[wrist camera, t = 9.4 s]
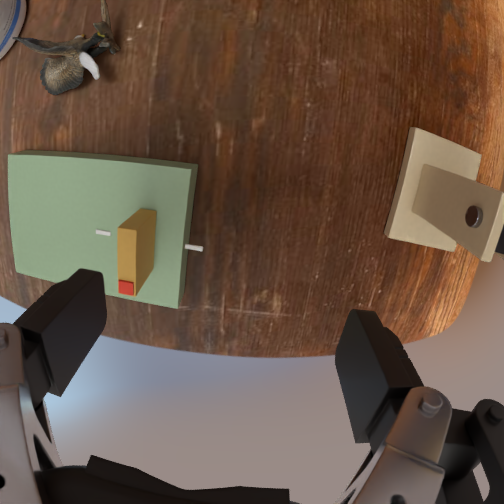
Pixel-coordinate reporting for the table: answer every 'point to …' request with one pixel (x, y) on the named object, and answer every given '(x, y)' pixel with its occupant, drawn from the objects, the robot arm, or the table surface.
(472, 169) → the handle bracket
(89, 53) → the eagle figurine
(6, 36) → the supplement tub
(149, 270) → the thumbturn
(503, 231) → the ball knob lever
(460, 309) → the table surface
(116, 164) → the lock plate
